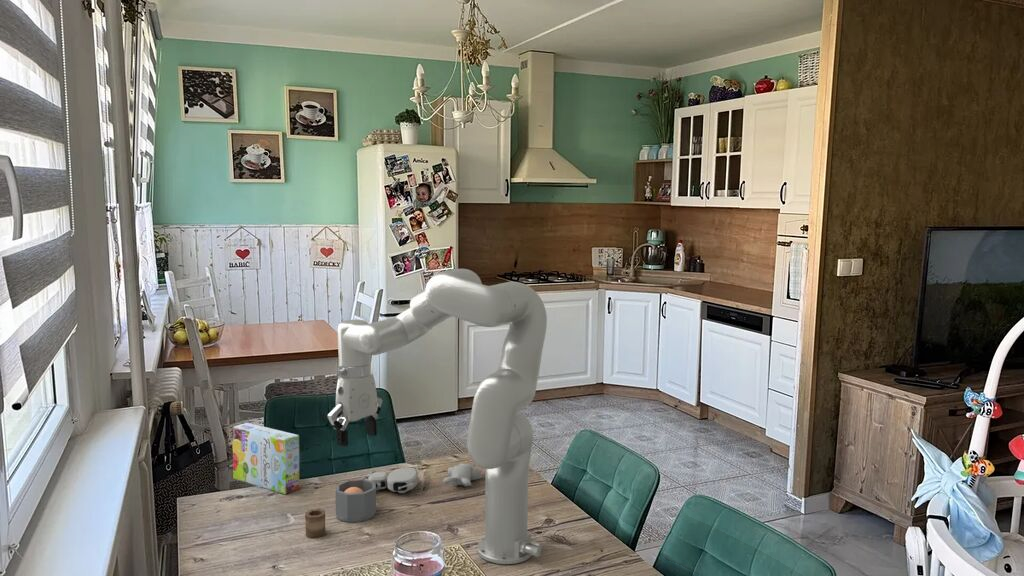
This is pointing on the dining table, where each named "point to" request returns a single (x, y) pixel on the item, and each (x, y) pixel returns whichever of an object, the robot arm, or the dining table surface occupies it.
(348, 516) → the grey octagonal pot
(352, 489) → the ball
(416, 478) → the robot toy
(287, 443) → the snack box
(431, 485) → the dining table surface
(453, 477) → the bunny figurine
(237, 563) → the dining table surface
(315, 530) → the stand
